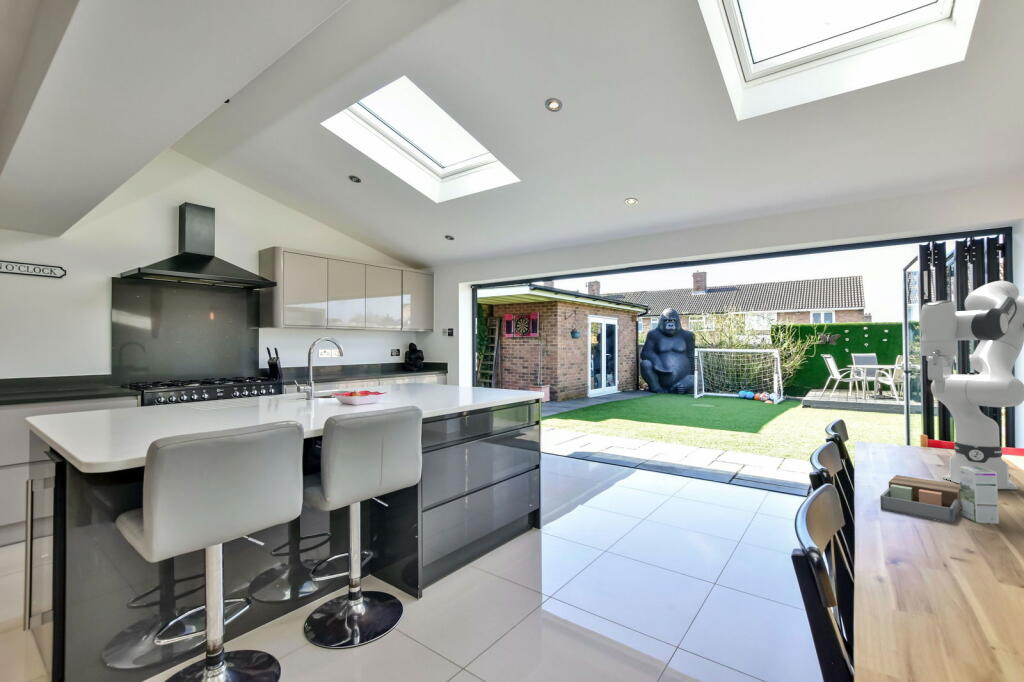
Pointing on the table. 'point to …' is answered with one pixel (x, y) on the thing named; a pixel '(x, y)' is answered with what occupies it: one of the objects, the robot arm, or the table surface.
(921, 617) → the table surface
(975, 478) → the syrup box
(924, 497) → the terracotta tile
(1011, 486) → the robot arm
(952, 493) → the brown rectangular block
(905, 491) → the sage-green tile
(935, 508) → the box
